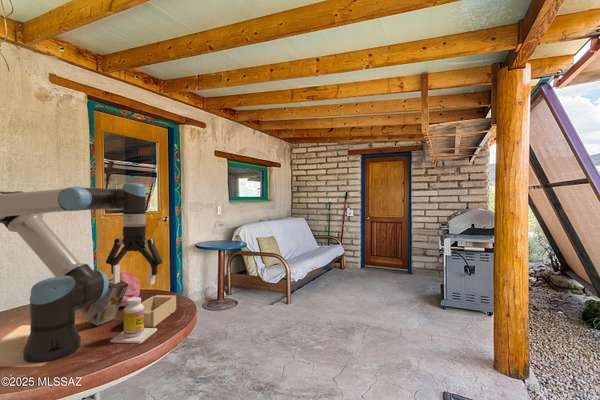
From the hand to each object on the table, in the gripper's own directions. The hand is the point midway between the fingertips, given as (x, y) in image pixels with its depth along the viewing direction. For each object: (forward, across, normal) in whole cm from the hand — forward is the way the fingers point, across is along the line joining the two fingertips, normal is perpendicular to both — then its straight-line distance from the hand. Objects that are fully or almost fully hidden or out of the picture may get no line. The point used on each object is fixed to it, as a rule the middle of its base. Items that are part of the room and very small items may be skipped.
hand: (134, 283), depth 117 cm
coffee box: (+18, -21, +11) cm, 30 cm away
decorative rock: (+20, -26, +33) cm, 46 cm away
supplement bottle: (+19, 0, 0) cm, 19 cm away
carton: (+19, -3, +18) cm, 27 cm away
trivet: (+19, 0, 0) cm, 19 cm away
